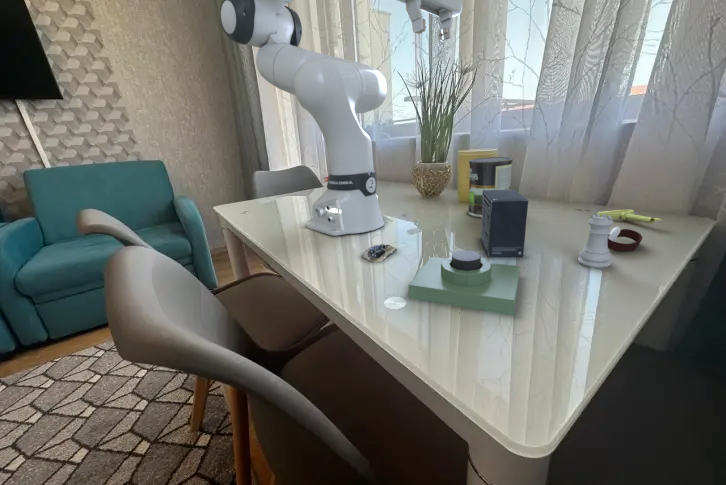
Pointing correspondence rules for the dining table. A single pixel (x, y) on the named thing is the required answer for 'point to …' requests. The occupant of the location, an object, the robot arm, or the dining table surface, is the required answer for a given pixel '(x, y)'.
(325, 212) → the robot arm
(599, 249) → the rook chess piece
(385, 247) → the blueberries
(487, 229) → the small box
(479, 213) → the coffee can
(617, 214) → the yellow-green branched tube
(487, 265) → the button box
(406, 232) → the dining table surface
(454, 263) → the spray button
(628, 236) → the watch
